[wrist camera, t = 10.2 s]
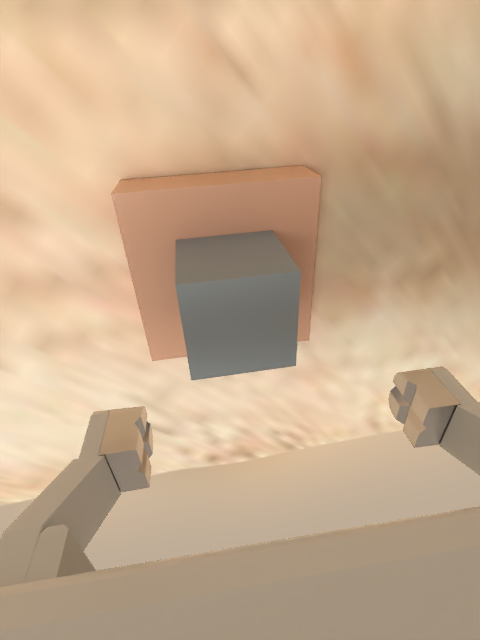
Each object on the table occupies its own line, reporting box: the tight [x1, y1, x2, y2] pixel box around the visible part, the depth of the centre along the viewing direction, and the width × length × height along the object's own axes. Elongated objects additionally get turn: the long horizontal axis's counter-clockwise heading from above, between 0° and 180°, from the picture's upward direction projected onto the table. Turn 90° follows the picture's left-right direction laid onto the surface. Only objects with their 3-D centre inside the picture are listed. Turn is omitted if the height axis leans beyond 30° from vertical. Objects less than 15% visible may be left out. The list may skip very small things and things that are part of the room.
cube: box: [175, 230, 301, 380], centre depth 17 cm, size 5×5×5 cm
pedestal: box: [111, 165, 322, 361], centre depth 20 cm, size 10×10×3 cm
